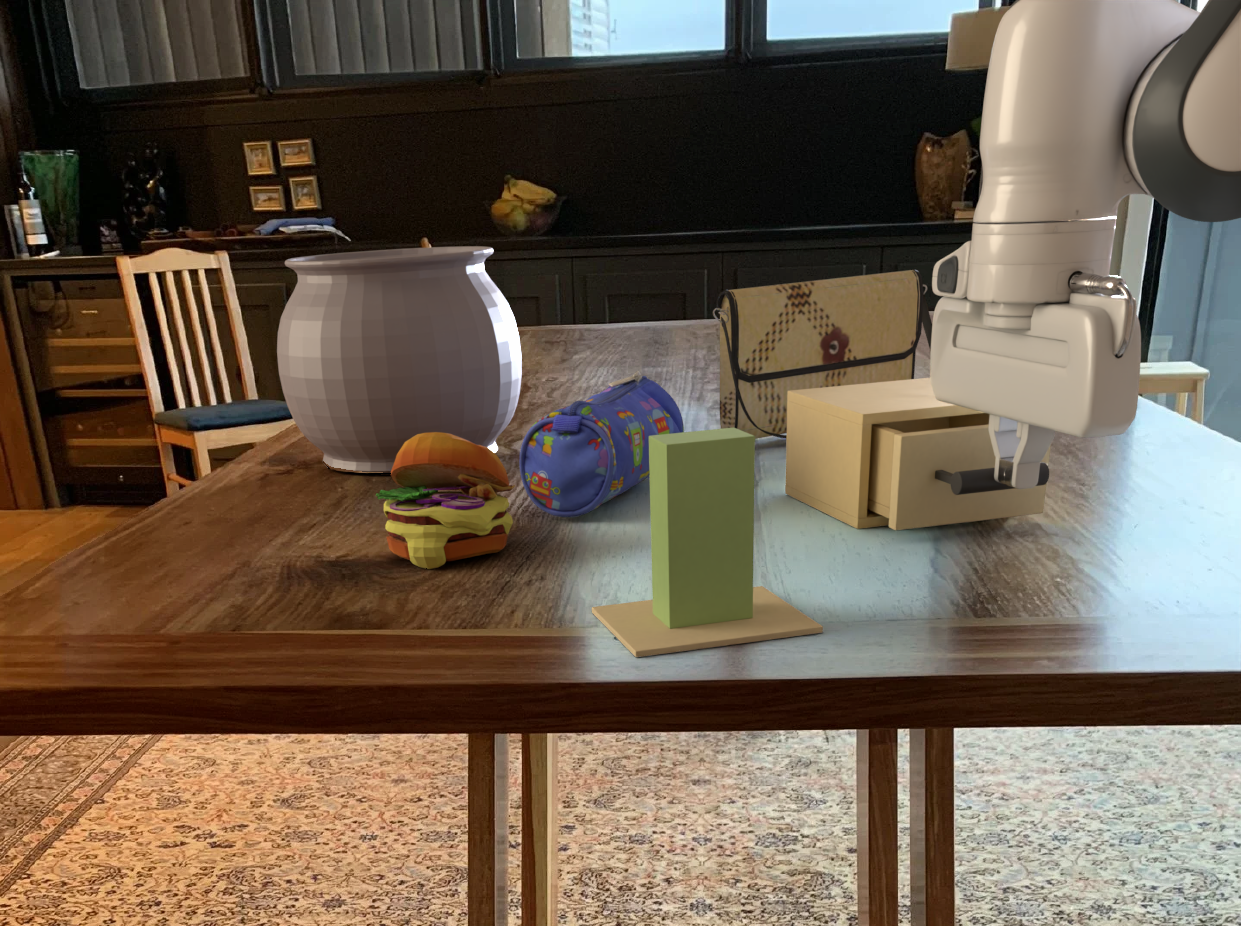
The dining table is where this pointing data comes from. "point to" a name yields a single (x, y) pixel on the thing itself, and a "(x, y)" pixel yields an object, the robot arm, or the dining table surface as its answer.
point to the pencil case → (595, 446)
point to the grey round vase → (397, 352)
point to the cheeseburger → (446, 501)
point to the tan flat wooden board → (703, 626)
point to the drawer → (943, 474)
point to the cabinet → (848, 441)
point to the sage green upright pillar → (702, 526)
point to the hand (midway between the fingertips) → (1015, 485)
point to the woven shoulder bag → (814, 341)
